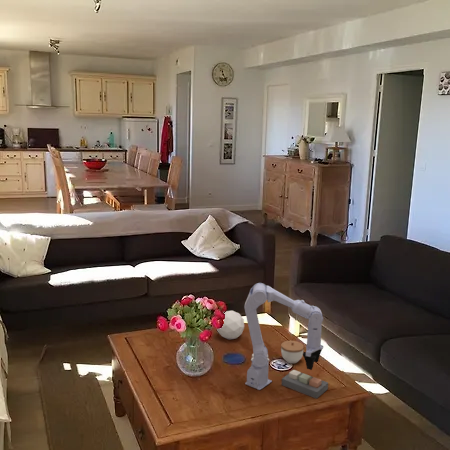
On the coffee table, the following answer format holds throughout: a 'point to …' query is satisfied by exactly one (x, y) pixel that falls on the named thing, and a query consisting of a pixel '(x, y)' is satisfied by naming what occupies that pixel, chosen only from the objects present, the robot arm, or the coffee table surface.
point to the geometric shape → (232, 325)
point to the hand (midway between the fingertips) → (312, 365)
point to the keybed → (304, 387)
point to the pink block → (315, 382)
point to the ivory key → (294, 374)
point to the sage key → (304, 378)
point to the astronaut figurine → (253, 355)
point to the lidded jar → (292, 351)
